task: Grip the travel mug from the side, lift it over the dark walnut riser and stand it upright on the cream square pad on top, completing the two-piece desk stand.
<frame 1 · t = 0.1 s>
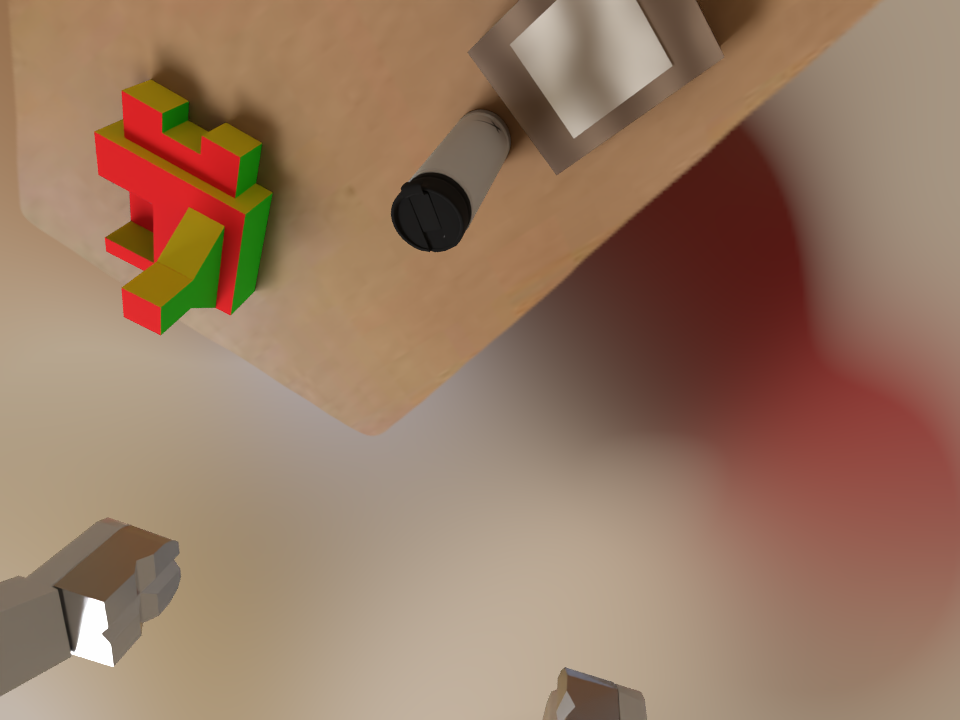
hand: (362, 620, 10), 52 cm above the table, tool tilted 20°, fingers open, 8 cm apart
walnut riser: (593, 44, 47), on the table
building blocks toy: (204, 194, 70), on the table
travel mug: (483, 137, 55), on the table
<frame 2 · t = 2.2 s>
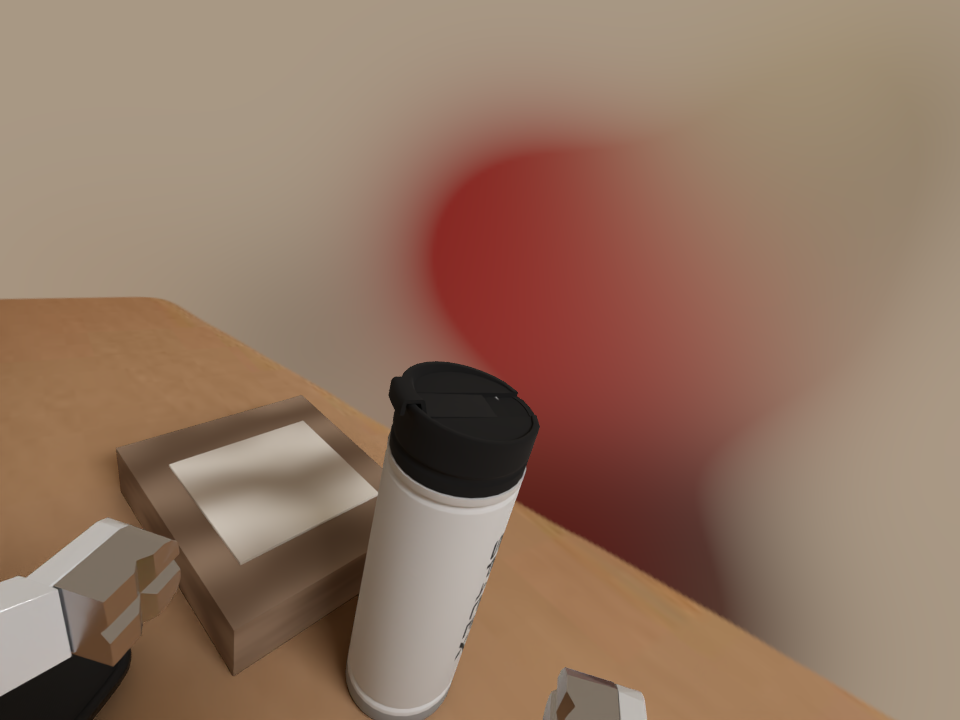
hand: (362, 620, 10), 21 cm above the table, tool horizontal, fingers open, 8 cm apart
walnut riser: (274, 522, 37), on the table
travel mug: (396, 672, 30), on the table
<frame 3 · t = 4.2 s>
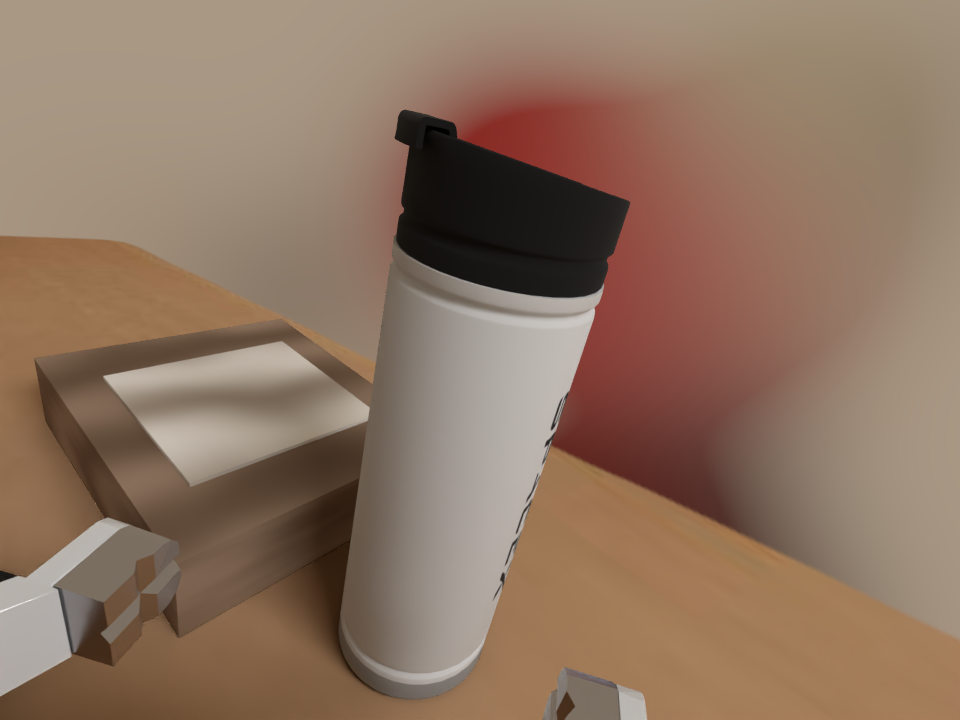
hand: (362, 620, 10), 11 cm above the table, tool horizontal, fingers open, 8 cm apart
walnut riser: (245, 457, 29), on the table
travel mug: (407, 631, 22), on the table
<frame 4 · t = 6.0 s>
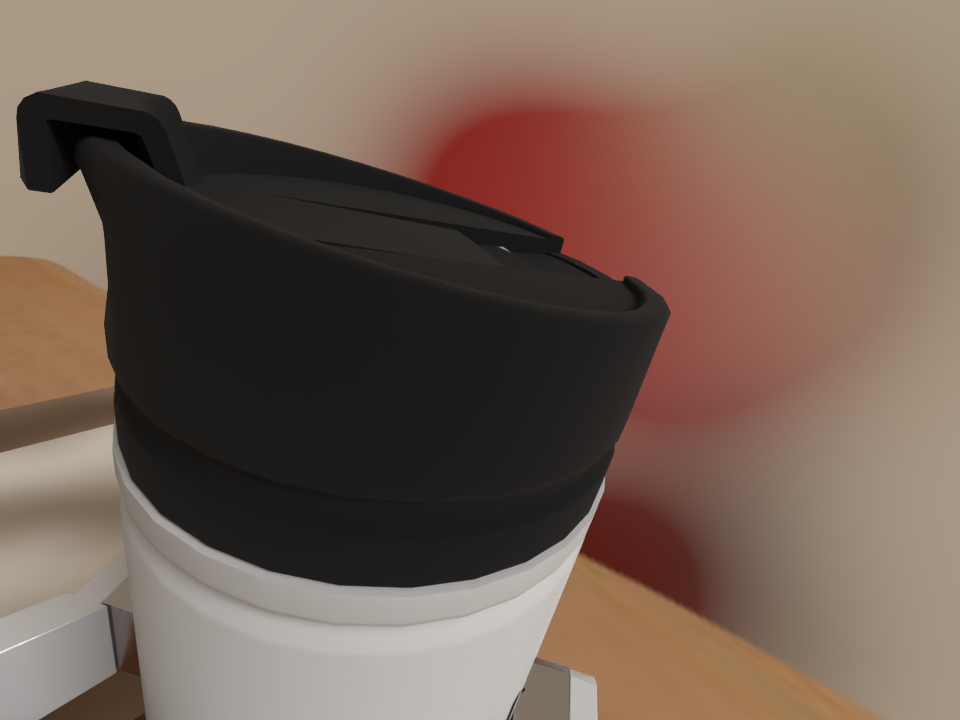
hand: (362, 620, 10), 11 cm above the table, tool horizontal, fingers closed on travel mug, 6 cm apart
walnut riser: (115, 578, 21), on the table
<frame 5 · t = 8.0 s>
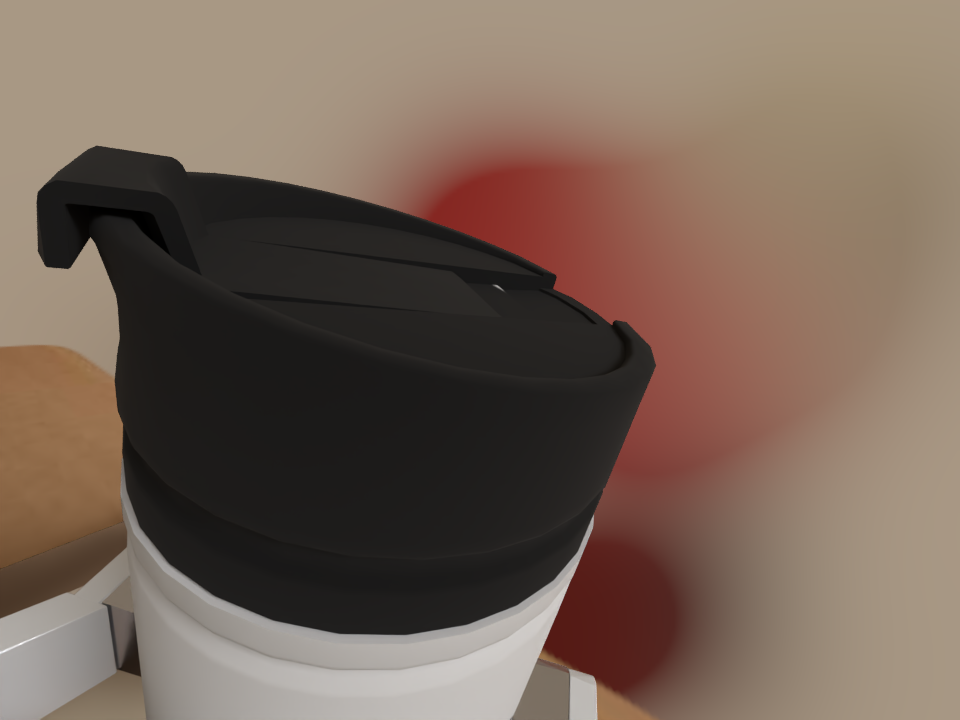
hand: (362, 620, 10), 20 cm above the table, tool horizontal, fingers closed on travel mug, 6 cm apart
walnut riser: (140, 706, 25), on the table
when the fingers open (17 cm above the table, at t = 10.1 s): travel mug stays where it is, resting on walnut riser.
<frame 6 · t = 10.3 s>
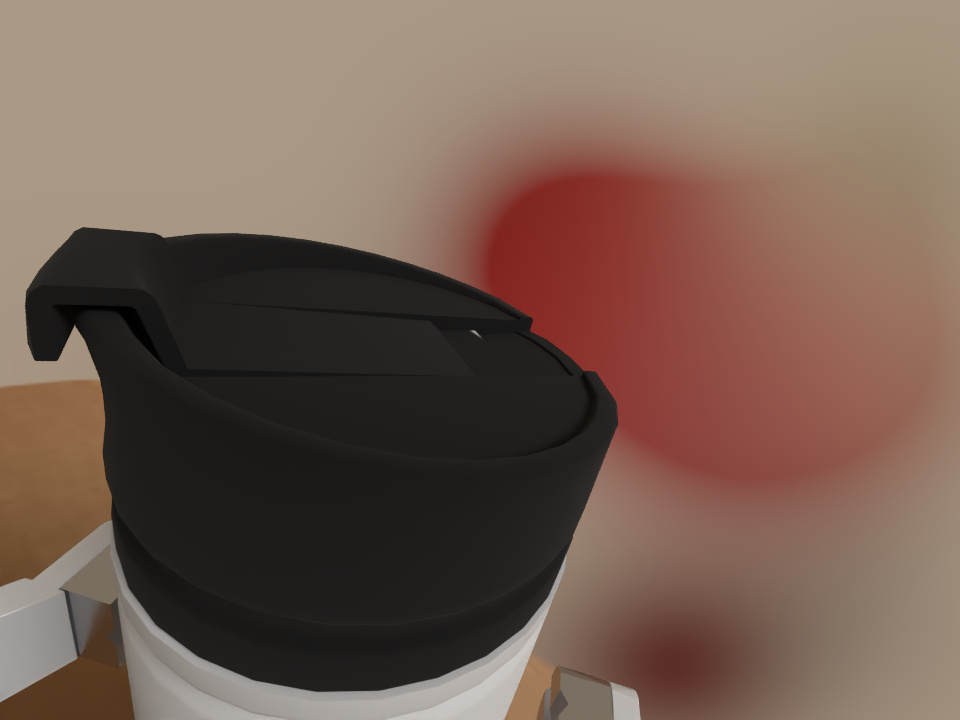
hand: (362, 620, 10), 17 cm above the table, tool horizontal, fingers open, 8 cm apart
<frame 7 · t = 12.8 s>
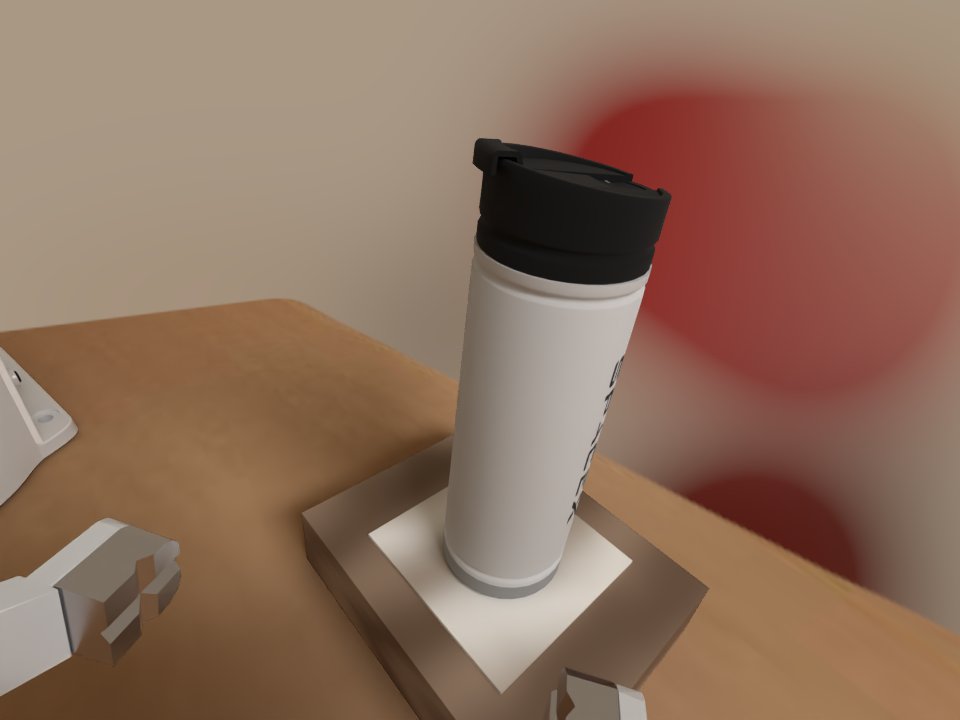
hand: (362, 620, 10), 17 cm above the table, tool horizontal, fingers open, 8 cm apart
walnut riser: (491, 593, 29), on the table
travel mug: (497, 549, 27), point 4 cm above the table, touching walnut riser
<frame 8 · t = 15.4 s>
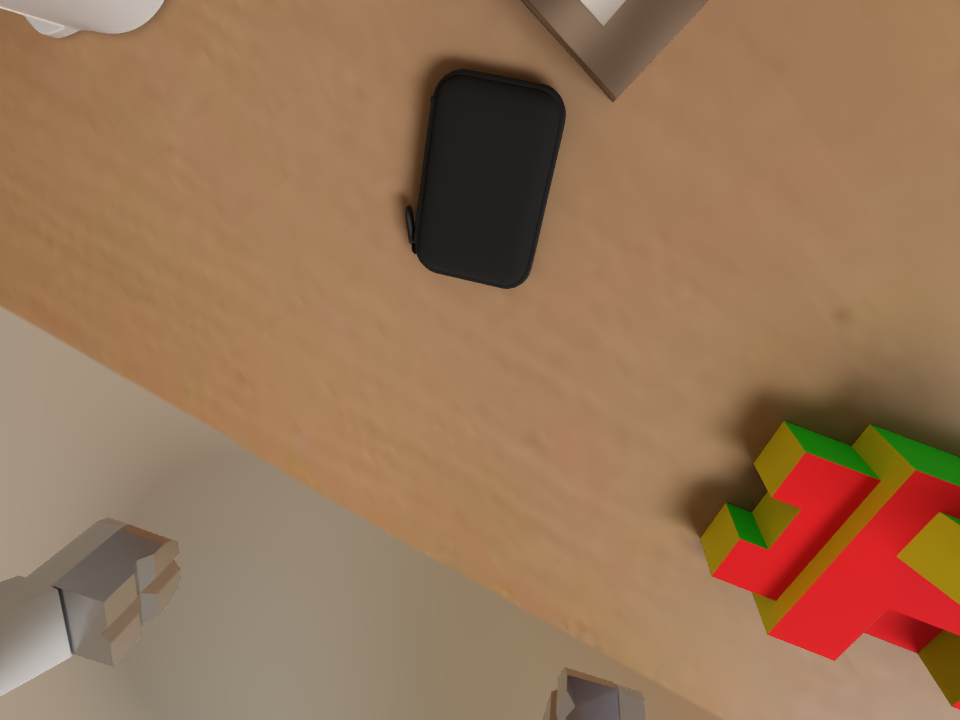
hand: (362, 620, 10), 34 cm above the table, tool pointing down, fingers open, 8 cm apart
carrying case or bag: (482, 183, 40), on the table
building blocks toy: (870, 530, 46), on the table
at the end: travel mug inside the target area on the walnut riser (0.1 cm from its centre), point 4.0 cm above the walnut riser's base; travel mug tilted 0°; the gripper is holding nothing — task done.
